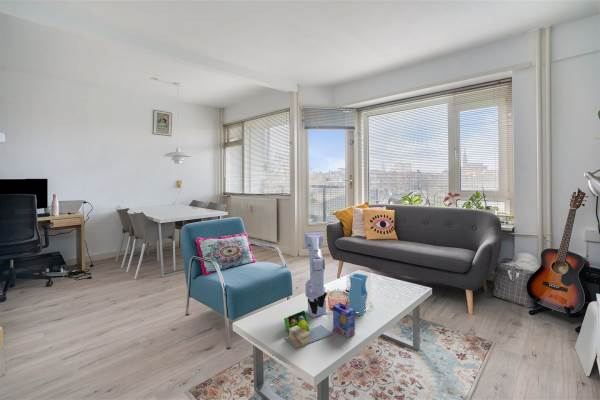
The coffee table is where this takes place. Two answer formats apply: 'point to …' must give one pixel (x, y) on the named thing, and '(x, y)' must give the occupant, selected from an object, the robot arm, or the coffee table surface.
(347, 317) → the ink cartridge box
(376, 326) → the coffee table surface
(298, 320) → the fruit basket
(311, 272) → the robot arm
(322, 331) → the mat
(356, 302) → the vase
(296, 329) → the tan rectangular block
